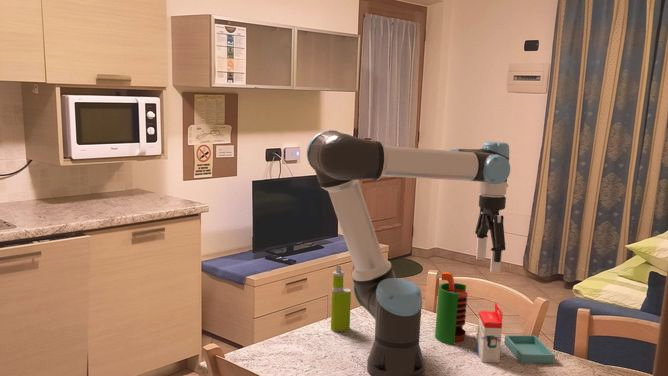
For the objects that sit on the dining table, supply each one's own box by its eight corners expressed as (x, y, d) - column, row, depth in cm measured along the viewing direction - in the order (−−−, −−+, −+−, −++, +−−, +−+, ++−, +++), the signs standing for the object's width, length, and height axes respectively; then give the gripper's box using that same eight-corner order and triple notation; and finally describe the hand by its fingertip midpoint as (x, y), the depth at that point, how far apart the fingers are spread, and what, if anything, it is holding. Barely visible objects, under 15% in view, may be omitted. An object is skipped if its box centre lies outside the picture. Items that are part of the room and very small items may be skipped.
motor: (465, 346, 169) (469, 280, 166) (434, 342, 171) (438, 277, 167) (464, 332, 179) (468, 270, 176) (435, 329, 180) (439, 267, 177)
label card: (477, 341, 172) (477, 340, 172) (471, 333, 178) (471, 332, 178) (493, 341, 172) (493, 340, 172) (487, 333, 178) (487, 332, 178)
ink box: (475, 349, 167) (478, 300, 165) (492, 349, 167) (496, 301, 165) (481, 362, 159) (485, 311, 156) (499, 363, 158) (503, 312, 156)
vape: (330, 326, 180) (331, 264, 177) (349, 326, 181) (351, 265, 178) (330, 331, 177) (332, 268, 174) (350, 331, 177) (352, 268, 174)
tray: (520, 363, 159) (521, 354, 158) (504, 343, 172) (504, 335, 171) (553, 363, 159) (554, 354, 159) (534, 343, 172) (535, 335, 172)
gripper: (521, 203, 156) (515, 278, 160) (491, 188, 181) (486, 254, 184) (494, 202, 156) (488, 278, 159) (467, 188, 180) (463, 253, 184)
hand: (487, 265), depth 172 cm, fingers open, 13 cm apart
